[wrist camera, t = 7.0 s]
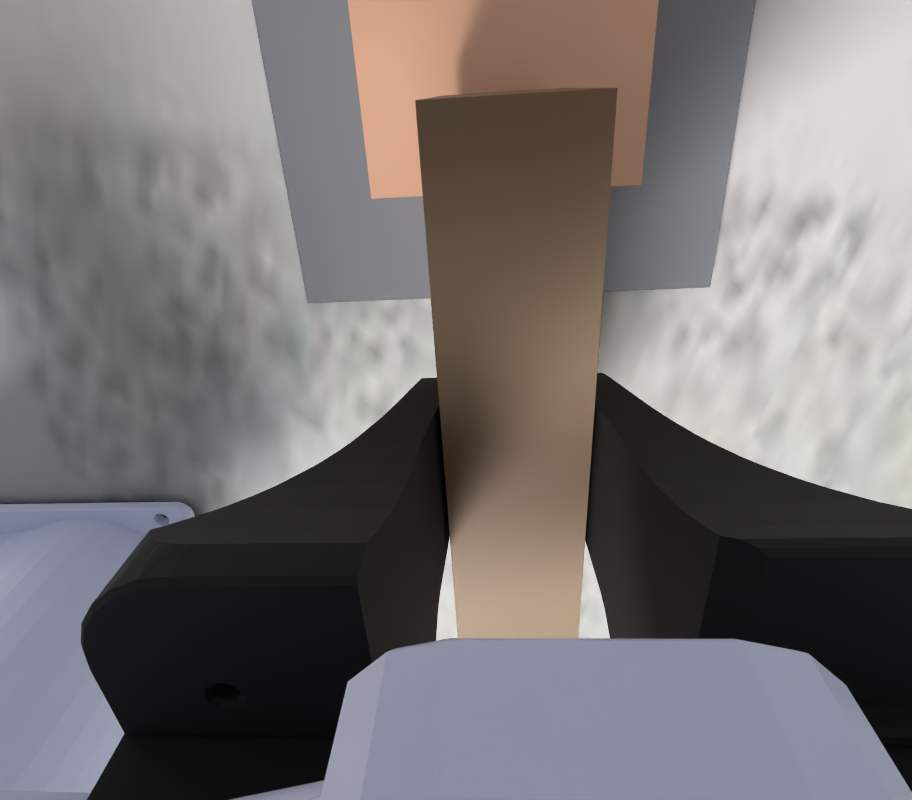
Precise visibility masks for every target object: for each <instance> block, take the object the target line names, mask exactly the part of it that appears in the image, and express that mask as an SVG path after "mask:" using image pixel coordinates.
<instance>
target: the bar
mask: <svg viewBox="0 0 912 800" xmlns="http://www.w3.org/2000/svg"><path fill="white" fill-rule="evenodd" d="M617 90H618V88H556V89H540V90H524V91H508V92H492V93H476V94H461V95H445V96H438V97H432V98H426V99H420V100H415V105H416V118H417V130H418V143H419V156H420V168H421V181H422V193H423V206H424V218H425V231H426V243H427V256H428V268H429V281H430V294H431V306H432V319H433V331H434V344H435V356H436V369H437V381H438V394H439V407H440V419H441V432H442V444H443V457H444V469H445V482H446V494H447V507H448V519H449V532H450V545H451V557H452V570H453V582H454V595H455V607H456V620H457V632H458V638H575V639H578V632H579V618H580V605H581V591H582V577H583V563H584V549H585V535H586V521H587V507H588V493H589V479H590V465H591V451H592V438H593V424H594V410H595V396H596V382H597V368H598V354H599V340H600V326H601V312H602V298H603V285H604V271H605V257H606V243H607V229H608V215H609V201H610V187H611V173H612V159H613V145H614V131H615V118H616V104H617Z"/></svg>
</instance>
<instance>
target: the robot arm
mask: <svg viewBox="0 0 912 800" xmlns="http://www.w3.org/2000/svg"><path fill="white" fill-rule="evenodd" d="M161 514H163V515H165V516H167V518H165V517H164V516H162V515H161ZM449 537H450V532H449V519H448V507H447V494H446V482H445V469H444V457H443V444H442V432H441V419H440V407H439V394H438V381H437V378H422V379H421V380H420V381H419V382H418V383H417V384H416V385H415V386H414V387H413V388H412V389H411V390H409V391H408V393H407V394H406V395H405V396H404V397H403V398H402V399H401V400H400V401H399V402H398V403H397V404H396V405H395V406H393V407H392V408H391V409H390V410H389V411H388V412H387V413H386V414H385V415H384V416H383V417H382V418H381V419H379V420H378V421H377V422H376V423H374V424H373V425H372V426H371V427H370V428H368V429H367V430H366V431H365V432H364V433H362V434H361V435H360V436H359V437H358V438H356V439H355V440H354V441H352V442H351V443H350V444H348V445H347V446H345V447H344V448H342V449H341V450H340V451H338V452H336V453H335V454H333V455H332V456H330V457H329V458H327V459H325V460H324V461H322V462H321V463H319V464H317V465H316V466H314V467H312V468H310V469H308V470H306V471H304V472H302V473H300V474H298V475H296V476H294V477H293V478H291V479H289V480H287V481H285V482H283V483H281V484H279V485H277V486H275V487H273V488H270V489H268V490H266V491H263V492H261V493H259V494H256V495H254V496H252V497H249V498H247V499H244V500H241V501H239V502H236V503H234V504H231V505H228V506H226V507H223V508H220V509H217V510H214V511H211V512H208V513H205V514H201V515H198V516H195V515H194V512H193V511H192V509H191V508H190V507H189V506H188V505H186V504H184V503H182V502H124V503H58V504H0V800H912V509H909V508H904V507H899V506H895V505H890V504H885V503H881V502H876V501H872V500H869V499H865V498H861V497H858V496H854V495H851V494H847V493H843V492H840V491H836V490H833V489H829V488H826V487H822V486H819V485H816V484H813V483H810V482H807V481H804V480H800V479H797V478H794V477H792V476H789V475H786V474H784V473H781V472H778V471H776V470H773V469H770V468H767V467H765V466H762V465H759V464H757V463H755V462H752V461H750V460H747V459H745V458H743V457H740V456H738V455H736V454H734V453H732V452H730V451H728V450H725V449H723V448H721V447H719V446H717V445H715V444H713V443H711V442H709V441H707V440H705V439H703V438H701V437H699V436H697V435H696V434H694V433H692V432H690V431H689V430H687V429H685V428H684V427H682V426H680V425H679V424H677V423H675V422H673V421H672V420H670V419H669V418H667V417H666V416H664V415H662V414H661V413H659V412H658V411H656V410H655V409H653V408H652V407H650V406H649V405H648V404H646V403H645V402H643V401H642V400H640V399H639V398H638V397H636V396H635V395H633V394H632V393H631V392H629V391H628V390H626V389H625V388H624V387H622V386H621V385H620V384H618V383H617V382H615V381H614V380H613V379H611V378H610V377H608V376H607V375H605V374H603V373H597V382H596V396H595V410H594V424H593V438H592V451H591V465H590V479H589V493H588V507H587V521H586V535H585V540H586V544H587V547H588V551H589V554H590V557H591V561H592V564H593V567H594V571H595V574H596V577H597V581H598V584H599V587H600V591H601V595H602V599H603V603H604V607H605V612H606V617H607V623H608V629H609V634H610V639H575V638H449V639H444V640H439V641H436V630H437V614H438V604H439V596H440V589H441V583H442V577H443V571H444V565H445V560H446V554H447V548H448V542H449Z"/></svg>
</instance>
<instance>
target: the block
mask: <svg viewBox="0 0 912 800" xmlns="http://www.w3.org/2000/svg"><path fill="white" fill-rule="evenodd" d="M658 1H659V0H348V8H349V16H350V24H351V33H352V41H353V50H354V58H355V66H356V75H357V83H358V92H359V100H360V108H361V117H362V125H363V133H364V142H365V150H366V159H367V167H368V175H369V184H370V192H371V199H375V198H395V197H414V196H423V193H422V181H421V168H420V156H419V143H418V130H417V118H416V105H415V100H420V99H426V98H432V97H438V96H445V95H461V94H476V93H492V92H508V91H524V90H540V89H556V88H618V90H617V104H616V118H615V131H614V145H613V159H612V173H611V186H629V185H642V174H643V163H644V152H645V141H646V131H647V120H648V109H649V98H650V88H651V77H652V66H653V55H654V44H655V34H656V23H657V12H658Z"/></svg>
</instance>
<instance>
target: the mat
mask: <svg viewBox="0 0 912 800" xmlns="http://www.w3.org/2000/svg"><path fill="white" fill-rule="evenodd" d="M755 1H756V0H659V1H658V12H657V23H656V34H655V44H654V55H653V66H652V77H651V88H650V98H649V109H648V120H647V131H646V141H645V152H644V163H643V174H642V185H629V186H611V187H610V201H609V215H608V229H607V243H606V257H605V271H604V285H603V291H627V290H653V289H678V288H703V287H710V285H711V279H712V272H713V266H714V260H715V253H716V247H717V241H718V234H719V228H720V222H721V216H722V209H723V203H724V197H725V190H726V184H727V178H728V171H729V165H730V159H731V152H732V146H733V140H734V134H735V127H736V121H737V115H738V108H739V102H740V96H741V89H742V83H743V77H744V71H745V64H746V58H747V52H748V45H749V39H750V33H751V26H752V20H753V14H754V7H755ZM252 5H253V10H254V15H255V21H256V26H257V32H258V37H259V42H260V48H261V53H262V59H263V64H264V69H265V75H266V80H267V86H268V91H269V96H270V102H271V107H272V113H273V118H274V123H275V129H276V134H277V140H278V145H279V150H280V156H281V161H282V167H283V172H284V177H285V183H286V188H287V194H288V199H289V204H290V210H291V215H292V221H293V226H294V231H295V237H296V242H297V248H298V253H299V258H300V264H301V269H302V275H303V280H304V285H305V291H306V296H307V302H308V303H322V302H348V301H373V300H398V299H424V298H431V294H430V281H429V268H428V256H427V243H426V231H425V218H424V206H423V196H414V197H395V198H375V199H371V192H370V184H369V175H368V167H367V159H366V150H365V142H364V133H363V125H362V117H361V108H360V100H359V92H358V83H357V75H356V66H355V58H354V50H353V41H352V33H351V24H350V16H349V8H348V0H252Z"/></svg>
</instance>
